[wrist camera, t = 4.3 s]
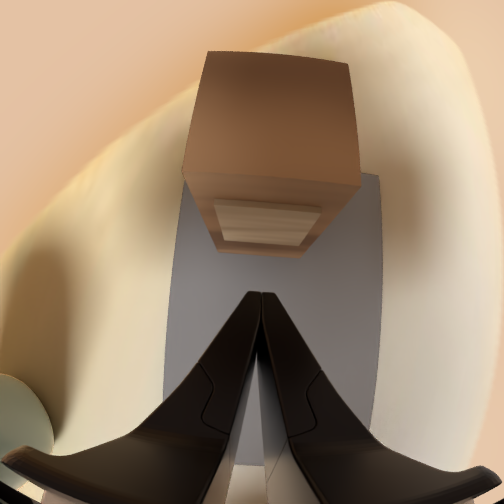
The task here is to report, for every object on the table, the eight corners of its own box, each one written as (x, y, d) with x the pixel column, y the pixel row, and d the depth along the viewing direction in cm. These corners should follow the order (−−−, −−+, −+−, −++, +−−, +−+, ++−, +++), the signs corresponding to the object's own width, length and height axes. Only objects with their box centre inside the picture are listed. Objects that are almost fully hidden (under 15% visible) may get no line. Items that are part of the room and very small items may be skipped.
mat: (361, 459, 15) (363, 461, 15) (163, 451, 15) (162, 454, 15) (376, 178, 19) (378, 175, 18) (189, 161, 19) (188, 158, 18)
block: (299, 261, 17) (362, 193, 7) (217, 256, 17) (180, 178, 7) (302, 183, 18) (348, 63, 8) (226, 177, 18) (207, 51, 8)
